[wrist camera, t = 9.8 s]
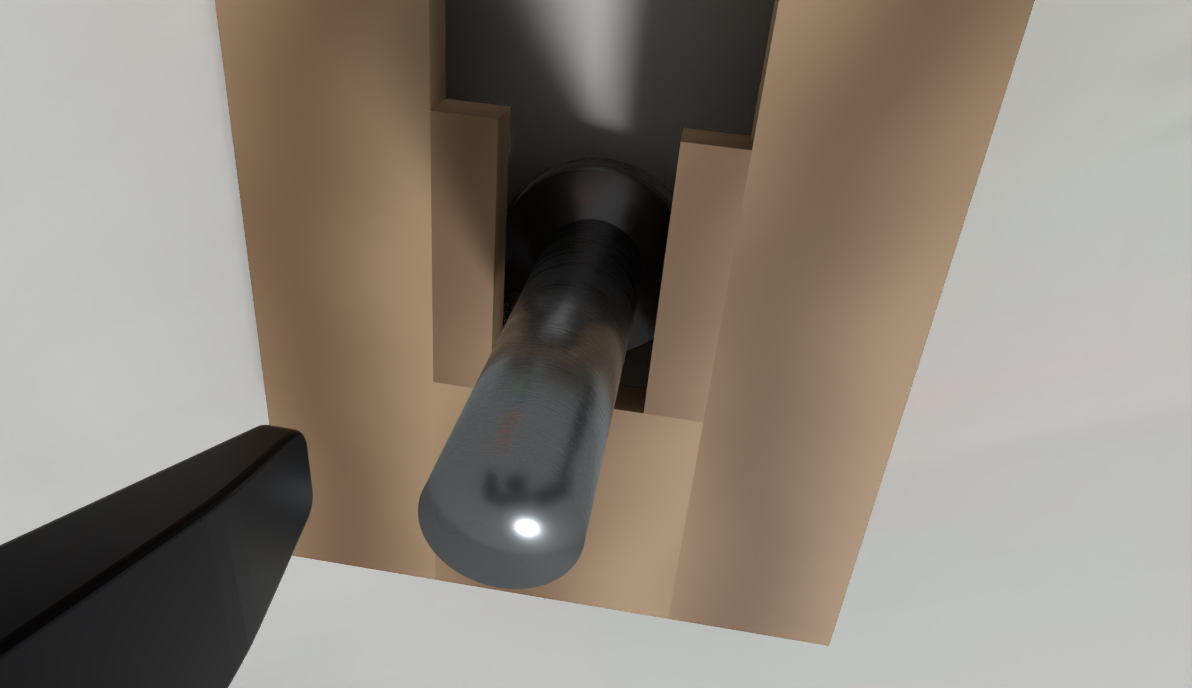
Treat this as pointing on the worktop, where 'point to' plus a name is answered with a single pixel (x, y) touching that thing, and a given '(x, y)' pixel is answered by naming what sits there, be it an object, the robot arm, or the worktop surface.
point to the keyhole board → (686, 304)
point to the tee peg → (550, 375)
